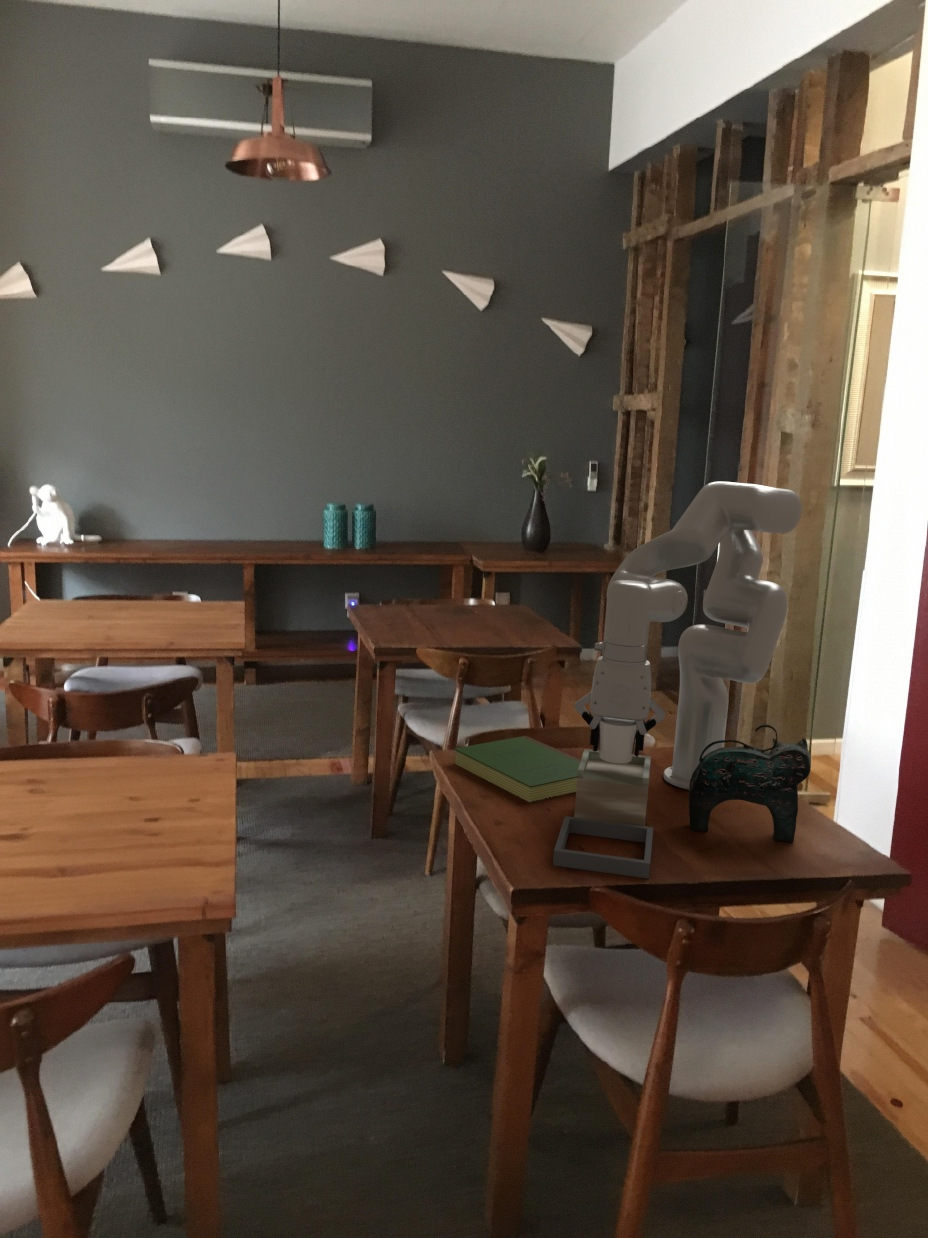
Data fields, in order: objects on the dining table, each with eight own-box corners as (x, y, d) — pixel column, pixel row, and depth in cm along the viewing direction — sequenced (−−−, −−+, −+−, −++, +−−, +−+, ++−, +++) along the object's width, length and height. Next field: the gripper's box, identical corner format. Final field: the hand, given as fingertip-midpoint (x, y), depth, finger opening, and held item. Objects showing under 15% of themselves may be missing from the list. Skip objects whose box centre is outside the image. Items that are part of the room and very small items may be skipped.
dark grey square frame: (563, 829, 175) (564, 816, 174) (652, 841, 172) (653, 827, 171) (552, 865, 160) (554, 850, 160) (648, 878, 157) (650, 863, 157)
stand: (580, 803, 188) (584, 749, 186) (646, 811, 185) (651, 756, 183) (573, 827, 176) (577, 770, 174) (643, 836, 174) (648, 778, 172)
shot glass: (634, 766, 174) (638, 727, 173) (594, 761, 176) (597, 722, 174) (635, 754, 181) (639, 716, 180) (597, 749, 182) (600, 712, 181)
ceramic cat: (800, 834, 178) (814, 725, 174) (805, 849, 172) (818, 736, 168) (685, 820, 182) (695, 713, 178) (685, 834, 176) (696, 723, 172)
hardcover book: (603, 788, 197) (605, 770, 197) (529, 805, 186) (530, 786, 186) (522, 751, 217) (523, 734, 216) (451, 765, 206) (451, 747, 206)
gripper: (572, 651, 173) (564, 752, 176) (675, 662, 169) (665, 764, 173) (576, 643, 180) (569, 739, 183) (676, 652, 177) (666, 751, 180)
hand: (616, 750), depth 178 cm, fingers closed on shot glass, 6 cm apart
